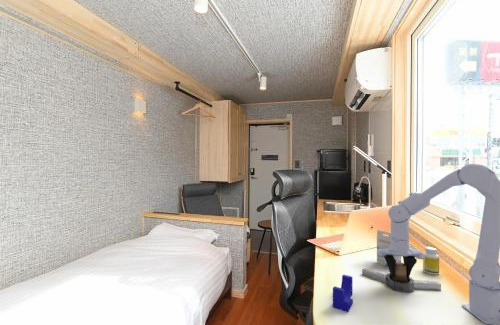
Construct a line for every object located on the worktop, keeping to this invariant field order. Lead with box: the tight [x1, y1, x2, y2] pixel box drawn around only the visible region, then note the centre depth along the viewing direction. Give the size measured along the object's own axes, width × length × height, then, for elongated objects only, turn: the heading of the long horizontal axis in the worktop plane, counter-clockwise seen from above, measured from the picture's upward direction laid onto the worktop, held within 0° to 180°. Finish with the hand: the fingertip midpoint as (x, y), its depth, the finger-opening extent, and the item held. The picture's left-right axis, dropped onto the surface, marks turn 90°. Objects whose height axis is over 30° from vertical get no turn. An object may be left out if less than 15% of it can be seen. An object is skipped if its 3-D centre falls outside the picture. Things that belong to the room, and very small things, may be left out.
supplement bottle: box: [422, 246, 440, 276], centre depth 104 cm, size 5×5×10 cm
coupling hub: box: [392, 261, 407, 282], centre depth 91 cm, size 5×4×6 cm
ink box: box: [376, 229, 402, 267], centre depth 111 cm, size 8×5×15 cm, turn 29°
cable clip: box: [332, 274, 354, 313], centre depth 81 cm, size 12×4×6 cm, turn 145°
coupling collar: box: [361, 267, 442, 294], centre depth 93 cm, size 14×23×3 cm, turn 84°
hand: (399, 276), depth 91 cm, fingers closed on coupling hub, 4 cm apart
